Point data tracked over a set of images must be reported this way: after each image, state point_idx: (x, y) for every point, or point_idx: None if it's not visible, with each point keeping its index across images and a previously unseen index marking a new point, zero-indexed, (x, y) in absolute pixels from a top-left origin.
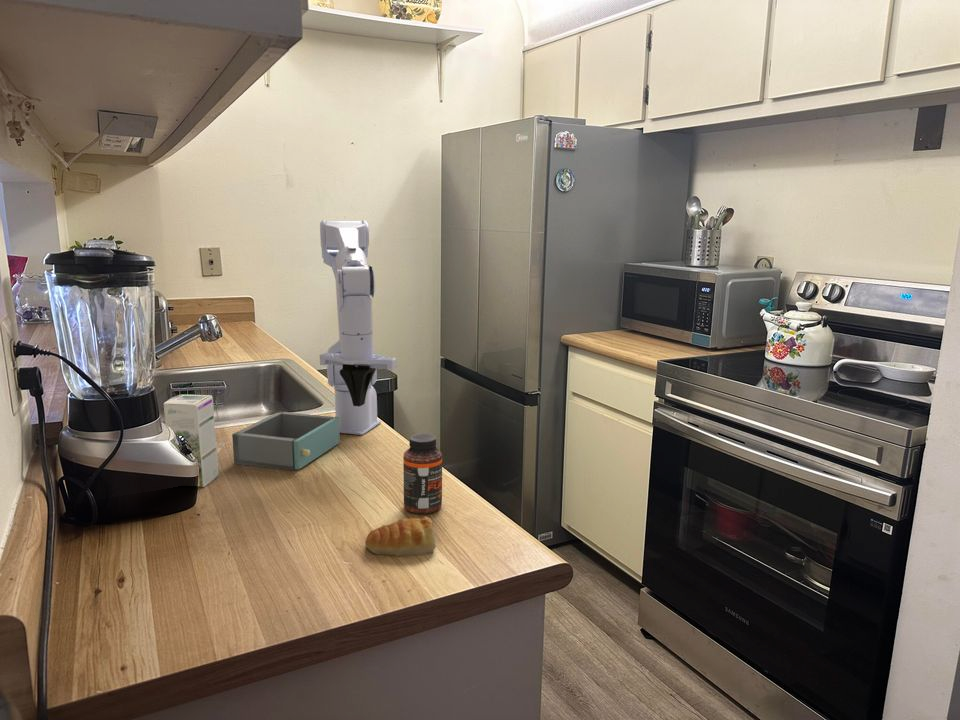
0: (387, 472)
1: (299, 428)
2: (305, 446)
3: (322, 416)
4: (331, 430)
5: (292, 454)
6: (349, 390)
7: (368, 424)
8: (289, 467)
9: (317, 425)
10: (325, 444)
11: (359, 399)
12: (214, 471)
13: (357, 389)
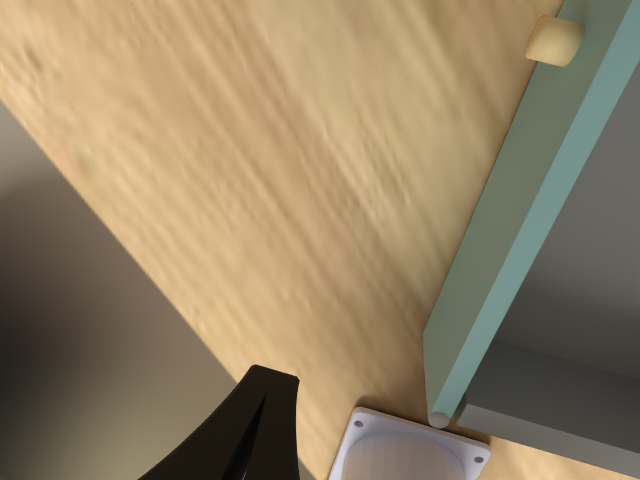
0: (155, 38)
1: (617, 401)
2: (564, 83)
3: (516, 434)
4: (451, 331)
5: None
6: (290, 468)
7: (344, 464)
8: None
9: (531, 393)
10: (466, 255)
11: (232, 394)
12: None
13: (207, 460)
